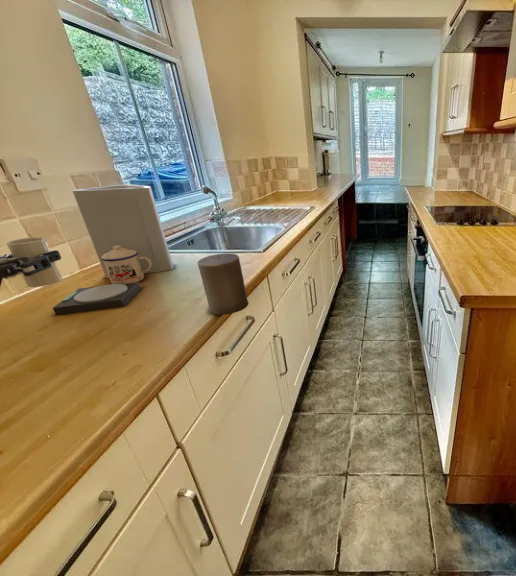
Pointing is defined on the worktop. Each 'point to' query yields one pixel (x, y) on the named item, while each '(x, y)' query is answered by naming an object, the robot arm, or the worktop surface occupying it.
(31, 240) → the cup
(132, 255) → the teacup with lid
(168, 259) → the light grey box
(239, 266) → the pillar candle
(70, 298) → the scale
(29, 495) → the worktop surface
